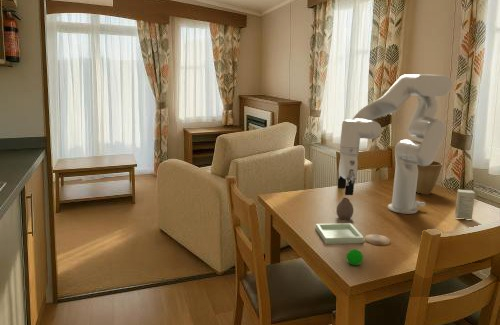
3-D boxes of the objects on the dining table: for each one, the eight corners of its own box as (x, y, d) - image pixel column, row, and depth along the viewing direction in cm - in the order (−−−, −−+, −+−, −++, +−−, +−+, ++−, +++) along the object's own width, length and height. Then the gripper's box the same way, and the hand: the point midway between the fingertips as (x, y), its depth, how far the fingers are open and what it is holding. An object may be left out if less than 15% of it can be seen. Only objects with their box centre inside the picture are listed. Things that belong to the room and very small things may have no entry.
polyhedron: (364, 267, 130) (365, 253, 129) (349, 268, 129) (350, 253, 128) (358, 260, 135) (360, 246, 134) (344, 260, 134) (345, 247, 133)
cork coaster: (384, 235, 156) (384, 234, 156) (394, 245, 147) (394, 244, 147) (361, 235, 155) (361, 234, 155) (370, 245, 146) (370, 244, 146)
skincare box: (470, 217, 177) (474, 190, 174) (471, 221, 173) (476, 193, 170) (453, 215, 179) (457, 188, 176) (454, 219, 175) (458, 191, 172)
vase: (353, 222, 169) (354, 201, 167) (335, 220, 170) (337, 200, 168) (352, 216, 175) (354, 196, 173) (335, 214, 177) (337, 195, 175)
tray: (350, 228, 162) (351, 223, 161) (363, 242, 148) (363, 237, 148) (315, 228, 161) (316, 223, 160) (325, 243, 147) (325, 238, 147)
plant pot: (443, 197, 205) (447, 165, 202) (413, 196, 205) (417, 165, 202) (431, 188, 220) (434, 159, 216) (403, 187, 220) (406, 158, 216)
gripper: (365, 155, 158) (361, 198, 162) (351, 147, 175) (347, 186, 179) (346, 154, 157) (342, 197, 161) (333, 146, 174) (330, 185, 178)
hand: (345, 191), depth 170 cm, fingers open, 9 cm apart
